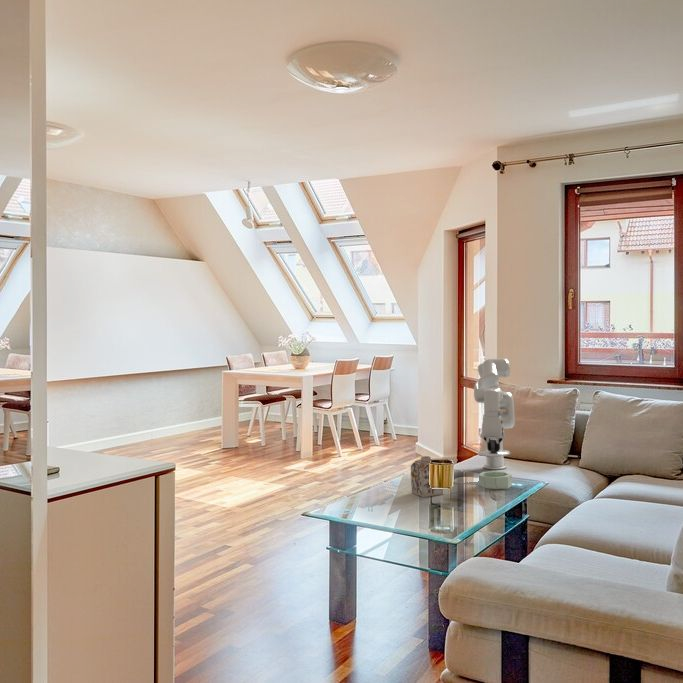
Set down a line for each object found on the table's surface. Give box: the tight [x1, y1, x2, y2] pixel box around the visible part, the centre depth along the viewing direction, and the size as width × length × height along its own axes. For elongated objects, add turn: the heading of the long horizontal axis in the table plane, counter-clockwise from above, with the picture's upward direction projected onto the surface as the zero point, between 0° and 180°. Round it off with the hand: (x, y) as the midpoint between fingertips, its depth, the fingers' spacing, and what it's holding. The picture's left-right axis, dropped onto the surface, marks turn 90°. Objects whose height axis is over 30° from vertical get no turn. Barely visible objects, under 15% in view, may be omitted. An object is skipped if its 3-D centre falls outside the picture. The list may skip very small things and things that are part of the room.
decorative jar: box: [410, 455, 444, 498], centre depth 330 cm, size 12×12×18 cm
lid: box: [477, 440, 511, 457], centre depth 338 cm, size 16×16×7 cm
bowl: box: [478, 470, 513, 490], centre depth 338 cm, size 15×15×6 cm
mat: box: [455, 481, 479, 486], centre depth 352 cm, size 17×17×1 cm
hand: (493, 450), depth 338 cm, fingers closed on lid, 3 cm apart
